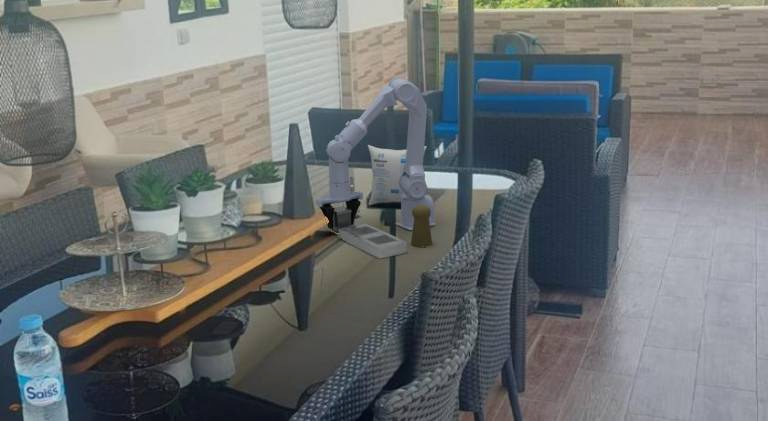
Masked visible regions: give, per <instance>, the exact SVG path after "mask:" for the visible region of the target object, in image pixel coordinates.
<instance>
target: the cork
mask: <svg viewBox="0 0 768 421" xmlns="http://www.w3.org/2000/svg"><path fill="white" fill-rule="evenodd" d="M430 214H431V210H430V208H429V207H428V206H423V205H420V206H415V207H414V208H413V210H412V215H413V217H414V224H413V230H412V233H411V241H410V245H411V247H415V248H423V247H422V246H429V247H431V246H433V238H432V232H431V231H432V230H431V226H430V223H429V217H430ZM430 245H431V246H430Z"/></svg>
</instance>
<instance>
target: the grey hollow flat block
mask: <svg viewBox="0 0 768 421" xmlns="http://www.w3.org/2000/svg"><path fill="white" fill-rule="evenodd" d="M339 237H341V238H342V239H344V240H345V241H346V242H345V241H344V242H345V243H347V244H349V245H350V246H352V247H355V248H356V249H358V250H361V251H363V252H365V253H366V254H369V255H371V256H372V257H374V258H376V259H379V260H381V259H385V258H389V257H394V256H398V255H404V254H407V253H408V241H405V240H404V239H401V238H399V237H397V236H394V235H392V234H390V233H387V232H385V231H383V230H381V229H379V228H376V227H374V226H372V225H370V224H368V223H360V224H355V225H351V226H350V227H345V228H340V229H339V236H338V238H339Z"/></svg>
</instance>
